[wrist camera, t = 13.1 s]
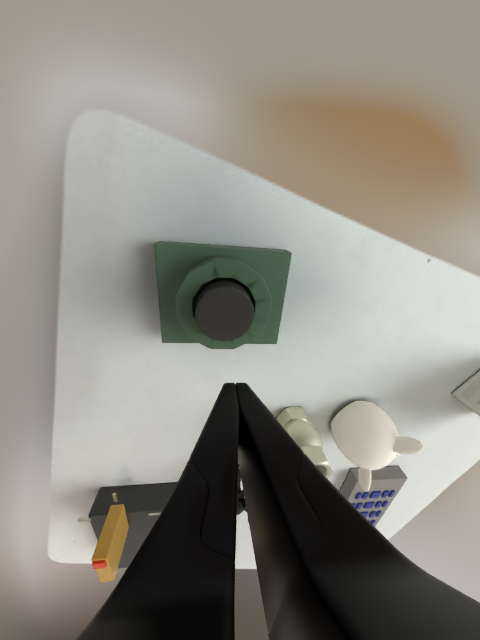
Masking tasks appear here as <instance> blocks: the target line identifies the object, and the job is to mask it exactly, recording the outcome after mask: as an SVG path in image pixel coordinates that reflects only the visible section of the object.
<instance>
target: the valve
mask: <svg viewBox="0 0 480 640" xmlns="http://www.w3.org/2000/svg"><path fill="white" fill-rule="evenodd" d="M277 420H278V422H279V423H280V424H281V425H282V426H283V428H284V429H285V430H286V431H287V432H288V434H289V435H290V436H291V437H292V438H293V440H294V441H295V442H296V443H297V444H298V446H299V447H300V448H301V449H302V450H303V452H304V454H306V455H307V456H308V457H309V459H310V460H311V461H312V462H313V463H314V464H315V466H316V467H317V468H318V469H319V470H320V471H321V472H322V474H323V475H324V476H325V477H326V478H328V477H329V476H330V474H331V473H332V470H331V468H330V466H329V463H328V461H327V459H326V457H325V455H324V453H323V445H322V440H321V437H320V434H319V433H318V431H317V430H316V428H315V427H314V426H313V425H312V424H310V423H309V420H308V418H307V416H306V414H305V412H304V410H303V408H302V407H289V408H286V409H284V410H283V411H282V412H281V413H280V414H279V416H278V417H277ZM239 467H240V466H239V464H238V479H237V515H239V514H240V513H241V512H243V511H244V510H245V511H246V512H247V507H246V501H245V498H244V497H245V496H244V490H242V491H241V488H240V481H241V472H240V470H239ZM248 522H249V519H248Z"/></svg>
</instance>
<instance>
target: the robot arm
mask: <svg viewBox="0 0 480 640" xmlns="http://www.w3.org/2000/svg"><path fill="white" fill-rule="evenodd" d="M238 461H239V466H240V472H241V478H242V484H243V490H244V496H245V501H246V507H247V513H248V519H249V525H250V531H251V536H252V542H253V548H254V554H255V560H256V566H257V571H258V577H259V583H260V589H261V595H262V601H263V606H264V612H265V618H266V624H267V630H268V632H269V634H268V636H269V640H480V603H479V602H477V601H476V600H474V599H472V598H470V597H469V596H467V595H465V594H463V593H461V592H460V591H458V590H456V589H454V588H453V587H451V586H449V585H447V584H446V583H444V582H442V581H440V580H439V579H437V578H435V577H433V576H432V575H430V574H428V573H427V572H425V571H424V570H422V569H421V568H420V567H418V566H417V565H416V564H414V563H413V562H412V561H410V560H409V559H408V558H407V557H405V556H404V555H403V554H402V553H401V552H400V551H398V550H397V549H396V548H395V547H394V546H393V545H392V544H391V543H390V542H389V541H388V540H387V539H386V538H385V537H384V536H383V535H382V534H381V533H380V532H379V531H378V530H377V529H376V528H375V527H374V526H373V525H372V524H371V523H370V522H369V521H368V520H367V519H366V518H365V517H364V516H363V515H362V514H361V513H360V512H359V511H358V510H357V509H356V508H355V507H354V506H353V505H352V504H351V503H350V502H349V501H348V500H347V499H346V498H345V497H344V496H343V495H342V494H341V493H340V492H339V491H338V490H337V489H336V488H335V487H334V486H333V484H332V483H331V482H330V481H329V480H328V479H327V478H326V477H325V476H324V475H323V474H322V472H321V471H320V470H319V469H318V468H317V467H316V466H315V464H314V463H313V462H312V461H311V460H310V459H309V457H308V456H307V455H306V454H304V452H303V450H302V449H301V448H300V447H299V446H298V444H297V443H296V442H295V441H294V440H293V438H292V437H291V436H290V435H289V434H288V432H287V431H286V430H285V429H284V428H283V426H282V425H281V424H280V423H279V422H278V420H277V419H276V418H275V417H274V416H273V415H272V413H271V412H270V411H269V410H268V409H267V407H266V406H265V405H264V404H263V403H262V401H261V400H260V399H259V398H258V397H257V395H256V394H255V393H254V392H253V391H252V389H251V388H250V387H249V386H248V385H247V384H246V383H236V384H234V383H225V384H224V385H223V387H222V389H221V391H220V394H219V396H218V398H217V400H216V402H215V404H214V406H213V409H212V411H211V413H210V415H209V417H208V419H207V422H206V424H205V426H204V428H203V430H202V432H201V435H200V437H199V439H198V441H197V443H196V445H195V448H194V450H193V452H192V454H191V456H190V460H189V461H188V462H187V465H186V467H185V469H184V471H183V473H182V475H181V477H180V479H179V481H178V483H177V485H176V487H175V489H174V491H173V493H172V495H171V496H170V498H169V500H168V502H167V503H166V505H165V507H164V509H163V510H162V512H161V514H160V515H159V517H158V519H157V520H156V522H155V524H154V525H153V527H152V529H151V530H150V532H149V534H148V535H147V537H146V538H145V540H144V542H143V543H142V545H141V547H140V548H139V550H138V552H137V553H136V555H135V557H134V558H133V560H132V562H131V563H130V565H129V567H128V568H127V570H126V571H125V573H124V575H123V576H122V578H121V580H120V581H119V583H118V584H117V586H116V587H115V589H114V590H113V592H112V593H111V595H110V596H109V598H108V599H107V600H106V602H105V603H104V605H103V606H102V607H101V609H100V610H99V611H98V613H97V614H96V615H95V617H94V618H93V619H92V621H91V622H90V623H89V624H88V625H87V626H86V628H85V629H84V630H83V631H82V632H81V633H80V635H79V636H78V637H77V638H76V639H75V640H234V639H235V637H234V636H235V632H234V590H235V587H234V586H235V549H236V514H237V479H238Z"/></svg>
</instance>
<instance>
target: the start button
mask: <svg viewBox="0 0 480 640" xmlns="http://www.w3.org/2000/svg"><path fill="white" fill-rule="evenodd" d="M195 319H196V323H197V325H198V327H199V329H200V330H201V331H202V332H203V334H205V335H206V336H207V337H209V338H211V339H213V340H217V341H232V340H235V339H238V338H239V337H241V336H243V335H244V334H245V333H246V332H247V331H248V330H249V329H250V327H251V325H252V323H253V320H254V308H253V304H252V302H251V300H250V298H249V295H248V293H247V292H246V291H245V289H244V288H243V287H241V286H240V285H239V284H237V283H234V282H231V281H217V282H214V283H211V284H209V285H208V286H207V287H205V288H204V289H203V290H202V292H201V293H200V295H199V297H198V300H197V305H196V310H195Z"/></svg>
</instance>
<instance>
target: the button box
mask: <svg viewBox="0 0 480 640" xmlns="http://www.w3.org/2000/svg"><path fill="white" fill-rule="evenodd" d="M154 246H155V258H156V271H157V283H158V296H159V309H160V321H161V334H162V343H200V344H202V345H204V346H206V347H208V348H211V349H235V348H237V347H239V346H241V345H243V344H277V338H278V332H279V326H280V320H281V314H282V308H283V302H284V296H285V290H286V284H287V278H288V272H289V266H290V260H291V254H292V253H291V252H289V251H287V250H281V249H266V248H251V247H237V246H222V245H207V244H192V243H178V242H163V241H160V242H157V243H155V244H154ZM217 281H231V282H234V283H237V284H239V285H240V286H241V287H243V288H244V289H245V291H246V292H247V293H248V295H249V298H250V300H251V302H252V304H253V308H254V320H253V323H252V325H251V327H250V329H249V330H248V331H247V332H246V333H245V334H244V335H243V336H241V337H239V338H238V339H235V340H232V341H217V340H213V339H211V338H209V337H207V336H206V335H205V334H203V332H202V331H201V330H200V329H199V327H198V325H197V323H196V319H195V310H196V305H197V300H198V297H199V295H200V293H201V292H202V290H203V289H204V288H205V287H207V286H208V285H209V284H211V283H214V282H217Z"/></svg>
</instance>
